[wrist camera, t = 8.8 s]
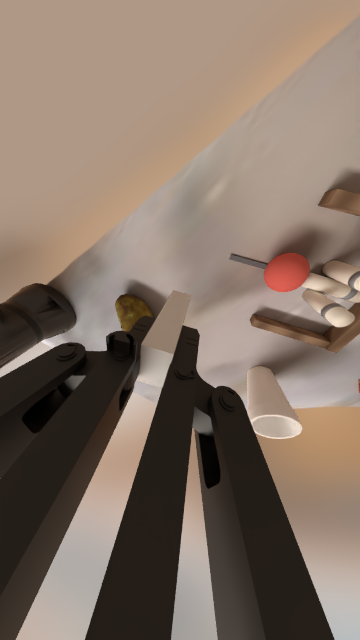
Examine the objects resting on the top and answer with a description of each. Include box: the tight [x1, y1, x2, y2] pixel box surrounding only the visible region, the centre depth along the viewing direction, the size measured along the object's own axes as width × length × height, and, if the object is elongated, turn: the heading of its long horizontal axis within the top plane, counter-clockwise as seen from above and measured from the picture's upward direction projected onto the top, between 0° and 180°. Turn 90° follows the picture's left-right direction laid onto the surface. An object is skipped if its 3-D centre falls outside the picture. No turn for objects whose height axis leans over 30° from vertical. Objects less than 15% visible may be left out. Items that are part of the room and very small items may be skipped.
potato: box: [115, 294, 152, 332], centre depth 35 cm, size 8×13×8 cm, turn 14°
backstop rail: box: [250, 189, 360, 353], centre depth 25 cm, size 17×22×3 cm
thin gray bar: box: [230, 255, 267, 269], centre depth 27 cm, size 8×1×1 cm, turn 77°
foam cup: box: [247, 366, 302, 439], centre depth 36 cm, size 10×9×13 cm
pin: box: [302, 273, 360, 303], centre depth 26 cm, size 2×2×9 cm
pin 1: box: [322, 260, 360, 291], centre depth 22 cm, size 2×2×9 cm
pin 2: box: [302, 289, 355, 327], centre depth 24 cm, size 2×2×9 cm
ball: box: [264, 253, 310, 292], centre depth 24 cm, size 6×6×6 cm
